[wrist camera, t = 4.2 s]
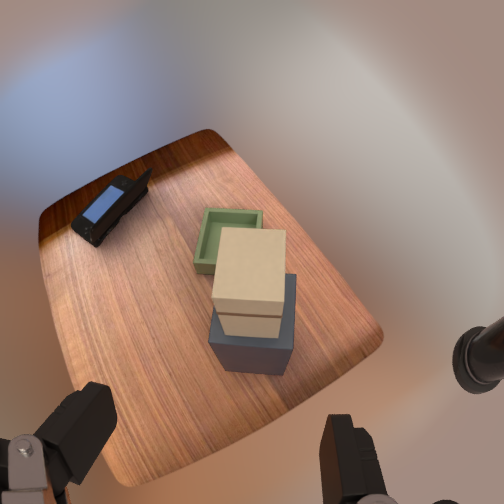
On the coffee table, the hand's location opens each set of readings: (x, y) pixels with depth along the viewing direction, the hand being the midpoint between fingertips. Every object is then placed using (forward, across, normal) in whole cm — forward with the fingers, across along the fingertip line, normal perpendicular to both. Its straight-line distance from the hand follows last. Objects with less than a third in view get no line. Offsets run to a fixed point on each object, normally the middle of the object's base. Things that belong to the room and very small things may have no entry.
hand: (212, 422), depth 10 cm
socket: (+42, +6, +3) cm, 43 cm away
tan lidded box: (+20, 0, +4) cm, 21 cm away
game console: (+47, +29, -1) cm, 55 cm away
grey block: (+31, 0, +15) cm, 34 cm away
